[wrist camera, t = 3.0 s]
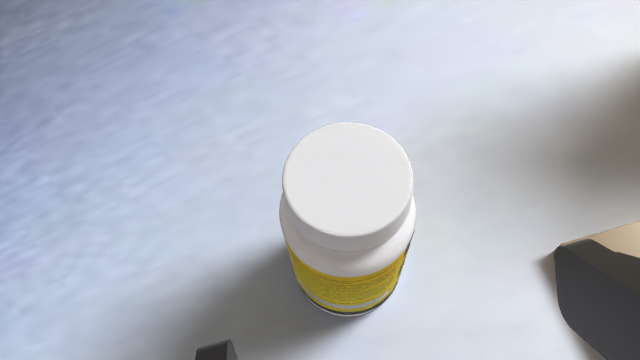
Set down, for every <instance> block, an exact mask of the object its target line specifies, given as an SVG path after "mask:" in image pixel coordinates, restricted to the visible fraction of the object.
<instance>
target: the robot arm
mask: <svg viewBox="0 0 640 360" xmlns="http://www.w3.org/2000/svg"><path fill="white" fill-rule="evenodd" d="M554 256H555V269H556V280H557V292H558V303H559V307H560V310H561V313H562V315H563V317H564V319H565V321H566V322H567V324H568V325H569V326H570V327H571V328H572V329H573V330H574V331H575V332H576V333H577V334H578V335H580V336H581V337H582V338H583V339H584V340H585V341H586V342H588V343H589V344H590V345H591V346H592V347H593V348H594V349H596V350H597V351H598V352H599V353H600V354H601V355H602V356H604V357H605V358H606V359H607V360H640V258H639V257H635V256H631V255H628V254H624V253H621V252H614V251H612V250H610V249H608V248H607V247H605V246H603V245H601V244H600V243H598V242H596V241H594V240H592V239H584V240H580V241H577V242H573V243H570V244H566V245H563V246H559V247H557V248H556V250H555V255H554ZM195 360H238V359H237V356H236V353H235V349H234V347H233V344H232V342H231V341H230V340H226V341H222V342H219V343H215V344H212V345H208V346H205V347H201V348H198V349H197V352H196V359H195Z"/></svg>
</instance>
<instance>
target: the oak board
mask: <svg viewBox="0 0 640 360" xmlns="http://www.w3.org/2000/svg"><path fill="white" fill-rule="evenodd" d="M584 239H592V240H594V241H596V242H598V243H600V244H601V245H603V246H605V247H607V248H608V249H610V250H612V251H614V252H621V253H624V254H628V255H631V256H635V257H639V258H640V221H638V222H635V223H632V224H628V225H625V226H621V227H618V228H614V229H611V230H607V231H604V232H600V233H597V234H593V235H590V236H587V237H583V238H580V239H576V240H573V241H569V242H566V243H562V244H561V245H560V246H563V245H566V244H570V243H573V242H577V241H580V240H584ZM555 250H556V249H555ZM555 250H554V251H553V252H554V254H555Z"/></svg>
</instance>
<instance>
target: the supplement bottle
mask: <svg viewBox="0 0 640 360" xmlns="http://www.w3.org/2000/svg"><path fill="white" fill-rule="evenodd" d="M282 188H283V193H282V196H281V200H280V209H279V216H280V224H281V228H282V232H283V235H284V238H285V241H286V245H287V248H288V251H289V255H290V258H291V261H292V265H293V268H294V272H295V275H296V279H297V281H298V284H299V286H300V288H301V290H302V291H303V293H304V294H305V296H306V297H307V298H308V299H309V300H310V301H311V302H312V303H313V304H314V305H315V306H316V307H318V308H320V309H321V310H323V311H325V312H327V313H330V314H333V315H337V316H358V315H362V314H365V313H368V312H370V311H373V310H374V309H376V308H378V307H379V306H380V305H382V304H383V303H384V302H385V301H386V300H387V299H388V298H389V297H390V295H391V294H392V293H393V291H394V289H395V287H396V285H397V283H398V280H399V277H400V274H401V271H402V268H403V265H404V262H405V258H406V255H407V252H408V249H409V246H410V242H411V239H412V236H413V233H414V229H415V221H416V206H415V201H414V197H413V194H412V191H413V172H412V167H411V164H410V161H409V159H408V157H407V155H406V153H405V151H404V150H403V149H402V147H401V146H400V145H399V144H398V143H397V142H396V141H395V140H394V139H393V138H392V137H391V136H389V135H388V134H386V133H385V132H383V131H381V130H379V129H377V128H374V127H372V126H369V125H365V124H360V123H349V122H347V123H336V124H331V125H328V126H324V127H322V128H319V129H317V130H315V131H313V132H311V133H310V134H308V135H307V136H305V137H304V138H303V139H302V140H301V141H300V142H298V143H297V144H296V146H295V147H294V148H293V150H292V151H291V153H290V154H289V156H288V158H287V160H286V163H285V166H284V170H283V176H282Z"/></svg>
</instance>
